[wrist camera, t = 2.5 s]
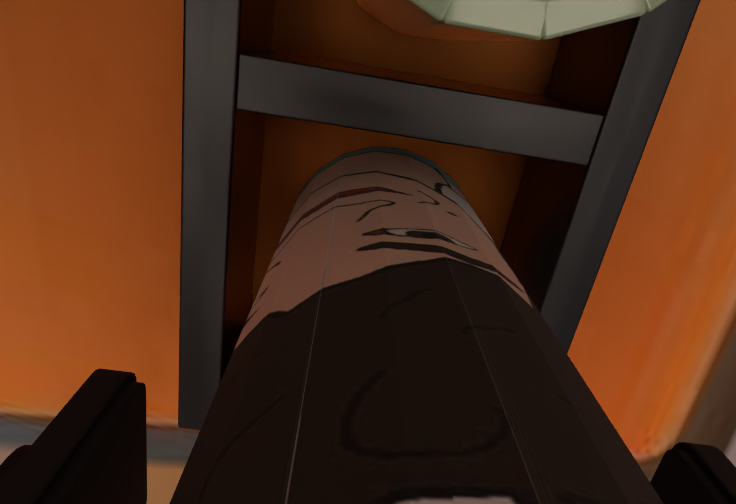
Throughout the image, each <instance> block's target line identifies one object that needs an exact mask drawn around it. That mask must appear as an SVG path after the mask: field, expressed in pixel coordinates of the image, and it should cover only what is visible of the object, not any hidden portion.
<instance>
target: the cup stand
mask: <svg viewBox="0 0 736 504" xmlns="http://www.w3.org/2000/svg"><path fill="white" fill-rule="evenodd" d="M274 3H275V0H184V30H183V105H182V179H181V254H180V329H179V404H178V427H179V428H185V429H194V430H201V428H202V425H203V423H204V420H205V418H206V416H207V413H208V411H209V408H210V406H211V404H212V401H213V399H214V396H215V394H216V392H217V389H218V387H219V384H220V382H221V380H222V377H223V375H224V373H225V370H226V368H227V365H228V363H229V361H230V358H231V356H232V353H233V351H234V349H235V346H236V344H237V341H238V339H239V337H240V334H241V332H242V330H243V327H244V325H245V322H246V320H247V318H248V315H249V313H250V310H251V300H252V288H253V275H254V262H255V249H256V236H257V223H258V210H259V197H260V184H261V171H262V158H263V145H264V132H265V119H266V114H267V115H274V116H280V117H286V118H292V119H298V120H305V121H311V122H317V123H323V124H329V125H336V126H342V127H348V128H354V129H360V130H367V131H373V132H379V133H385V134H392V135H398V136H404V137H410V138H416V139H423V140H429V141H435V142H441V143H447V144H454V145H460V146H466V147H472V148H478V149H485V150H491V151H497V152H503V153H509V154H516V155H522V156H528V159H527V162H526V165H525V169H524V172H523V176H522V179H521V183H520V186H519V190H518V193H517V197H516V200H515V204H514V207H513V211H512V214H511V218H510V221H509V225H508V228H507V232H506V235H505V239H504V242H503V246H502V249H501V253H502V255H503V256H504V258H505V259H506V261H507V263H508V264H509V266H510V267H511V269H512V270H513V272H514V273H515V275H516V276H517V278H518V280H519V281H520V283H521V284H522V286H523V287H524V289H525V290H526V292H527V293H528V295H529V297H530V298H531V300H532V301H533V303H534V304H535V306H536V307H537V309H538V310H539V312H540V314H541V315H542V317H543V318H544V320H545V321H546V323H547V324H548V326H549V327H550V329H551V330H552V332H553V334H554V335H555V337H556V338H557V340H558V341H559V343H560V344H561V346H562V347H563V349H564V351H565V352H566V354H567V353H568V350H569V348H570V345H571V342H572V340H573V337H574V334H575V332H576V329H577V326H578V324H579V321H580V318H581V316H582V313H583V310H584V308H585V305H586V303H587V300H588V297H589V295H590V292H591V289H592V287H593V284H594V281H595V279H596V276H597V273H598V271H599V268H600V265H601V263H602V260H603V257H604V255H605V252H606V249H607V247H608V244H609V242H610V239H611V236H612V234H613V231H614V228H615V226H616V223H617V220H618V218H619V215H620V212H621V210H622V207H623V204H624V202H625V199H626V196H627V194H628V191H629V189H630V186H631V183H632V181H633V178H634V175H635V173H636V170H637V167H638V165H639V162H640V159H641V157H642V154H643V151H644V149H645V146H646V143H647V141H648V138H649V135H650V133H651V130H652V128H653V125H654V122H655V120H656V117H657V114H658V112H659V109H660V106H661V104H662V101H663V98H664V96H665V93H666V90H667V88H668V85H669V82H670V80H671V77H672V75H673V72H674V69H675V67H676V64H677V61H678V59H679V56H680V53H681V51H682V48H683V45H684V43H685V40H686V37H687V35H688V32H689V29H690V27H691V24H692V21H693V19H694V16H695V14H696V11H697V8H698V6H699V3H700V0H667V1H665V2H664V3H662V4H661V5H660V6H658V7H657V8H655V9H654V10H652V11H651V12H648V13H645V14H643V15H642V16H640V17H636V18H632V19H628V20H624V21H620V22H616V23H612V24H608V25H604V26H600V27H596V28H592V29H588V30H584V31H580V32H576V33H572V34H568V35H564V36H563V37H562V40H561V44H560V47H559V51H558V54H557V58H556V61H555V65H554V68H553V72H552V75H551V78H550V82H549V85H548V89H547V92H546V96H541V95H535V94H529V93H523V92H517V91H512V90H506V89H500V88H494V87H488V86H482V85H476V84H470V83H465V82H459V81H453V80H447V79H441V78H435V77H429V76H423V75H418V74H412V73H406V72H400V71H394V70H388V69H382V68H376V67H371V66H365V65H359V64H353V63H347V62H341V61H335V60H329V59H324V58H318V57H312V56H306V55H300V54H294V53H288V52H282V51H277V50H271V42H272V29H273V16H274Z"/></svg>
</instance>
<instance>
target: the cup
mask: <svg viewBox="0 0 736 504" xmlns="http://www.w3.org/2000/svg"><path fill="white" fill-rule="evenodd" d="M170 504H664V503H663V502H662V500H661V499H660V497H659V496H658V494H657V493H656V491H655V490H654V488H653V486H652V485H651V483H650V482H649V480H648V479H647V477H646V476H645V474H644V473H643V471H642V469H641V468H640V466H639V465H638V463H637V462H636V460H635V459H634V457H633V456H632V454H631V452H630V451H629V449H628V448H627V446H626V445H625V443H624V442H623V440H622V439H621V437H620V435H619V434H618V432H617V431H616V429H615V428H614V426H613V425H612V423H611V422H610V420H609V419H608V417H607V415H606V414H605V412H604V411H603V409H602V408H601V406H600V405H599V403H598V402H597V400H596V398H595V397H594V395H593V394H592V392H591V391H590V389H589V388H588V386H587V385H586V383H585V381H584V380H583V378H582V377H581V375H580V374H579V372H578V371H577V369H576V368H575V366H574V364H573V363H572V361H571V360H570V358H569V357H568V355H567V354H566V352H565V351H564V349H563V347H562V346H561V344H560V343H559V341H558V340H557V338H556V337H555V335H554V334H553V332H552V330H551V329H550V327H549V326H548V324H547V323H546V321H545V320H544V318H543V317H542V315H541V314H540V312H539V310H538V309H537V307H536V306H535V304H534V303H533V301H532V300H531V298H530V297H529V295H528V293H527V292H526V290H525V289H524V287H523V286H522V284H521V283H520V281H519V280H518V278H517V276H516V275H515V273H514V272H513V270H512V269H511V267H510V266H509V264H508V263H507V261H506V259H505V258H504V256H503V255H502V253H501V252H500V250H499V249H498V247H497V246H496V244H495V242H494V241H493V239H492V238H491V236H490V235H489V233H488V232H487V230H486V229H485V227H484V225H483V224H482V222H481V221H480V219H479V218H478V216H477V215H476V213H475V212H474V210H473V209H472V207H471V205H470V204H469V202H468V201H467V199H466V198H465V196H464V195H463V193H462V192H461V190H460V188H459V187H458V185H457V184H456V182H455V181H454V180H453V179H452V178H451V177H450V176H449V175H448V174H447V173H445V172H444V171H443V170H442V169H441V168H440V167H439V166H438V165H436V164H435V163H434V162H433V161H431V160H429V159H427V158H424V157H422V156H420V155H417V154H415V153H412V152H410V151H408V150H405V149H395V148H383V147H371V148H367V149H363V150H358V151H354V152H350V153H346V154H343V155H342V156H340V157H338V158H337V159H335V160H333V161H332V162H330V163H329V164H327V165H325V166H324V167H322V168H320V169H319V170H318V171H317V172H316V173H315V175H314V176H313V177H312V178H311V179H310V181H309V182H308V183H307V184H306V185H305V187H304V188H303V189H302V190H301V191H300V193H299V196H298V198H297V201H296V203H295V205H294V208H293V210H292V212H291V215H290V217H289V220H288V222H287V224H286V227H285V229H284V232H283V234H282V236H281V239H280V241H279V244H278V246H277V248H276V251H275V253H274V255H273V258H272V260H271V263H270V265H269V267H268V270H267V272H266V275H265V277H264V279H263V282H262V284H261V287H260V289H259V291H258V294H257V296H256V298H255V301H254V303H253V306H252V308H251V310H250V313H249V315H248V318H247V320H246V322H245V325H244V327H243V330H242V332H241V334H240V337H239V339H238V341H237V344H236V346H235V349H234V351H233V353H232V356H231V358H230V361H229V363H228V365H227V368H226V370H225V373H224V375H223V377H222V380H221V382H220V384H219V387H218V389H217V392H216V394H215V396H214V399H213V401H212V404H211V406H210V408H209V411H208V413H207V416H206V418H205V420H204V423H203V425H202V428H201V430H200V432H199V435H198V437H197V439H196V442H195V444H194V447H193V449H192V451H191V454H190V456H189V459H188V461H187V463H186V466H185V468H184V471H183V473H182V475H181V478H180V480H179V483H178V485H177V487H176V490H175V492H174V494H173V497H172V499H171V502H170Z"/></svg>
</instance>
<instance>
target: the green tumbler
mask: <svg viewBox="0 0 736 504" xmlns="http://www.w3.org/2000/svg"><path fill="white" fill-rule="evenodd" d="M355 1H356V3H357V4H358V5H360V7H361V8H362V9H363V10H365V11H366V12H368V13H369V14H370V15H372V16H373V17H374V18H376V19H377V20H378V21H380V22H382V23H383V24H385V25H387V26H388V27H390V28H391V29H393V30H394V31H396V32H399V33H402V34H408V35H413V36H417V37H425V38H431V39H436V40H548V39H552V38H556V37H560V36H564V35H568V34H572V33H576V32H580V31H584V30H588V29H592V28H596V27H600V26H604V25H608V24H612V23H616V22H620V21H624V20H628V19H632V18H636V17H640V16H642V15H643V14H645V13H648V12H651V11H652V10H654V9H655V8H657V7H658V6H660V5H661V4H662V3H664V2H665V1H667V0H355Z"/></svg>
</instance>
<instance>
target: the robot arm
mask: <svg viewBox="0 0 736 504" xmlns="http://www.w3.org/2000/svg"><path fill="white" fill-rule="evenodd" d="M650 483H651V485H652V486H653V488H654V490H655V491H656V493H657V494H658V496H659V497H660V499H661V500H662V502H663V503H664V504H736V467H735V466H734V465H733V464H732V463H731V462H730V460H729V459H728V458H727V457H726V456H725V455H724V454H723V453H722V452H721V451H720V450H719V449H718V448H716V447H713V446H709V445H701V444H693V443H685V442H680V443H677V444H676V445H674V447H673V448H672V449H670V450H668V451H666V453H665V454H664V456H663V458H662V460H661V462H660V464H659V466H658V468H657V470H656V472H655V474H654V476H653V478H652V480H651V482H650ZM146 502H147V448H146V386H145V384H144V383H140V382H137V381H136V376H135V374H134V373H131V372H123V371H115V370H108V369H97V370H95V371H94V372H93V373H92V374H91V375H90V377H89V378H88V379H87V380H86V381H85V383H84V384H83V385H82V386H81V387H80V388H79V390H78V391H77V392H76V393H75V394H74V396H73V397H72V398H71V399H70V400H69V402H68V403H67V404H66V405H65V406H64V407H63V409H62V410H61V411H60V412H59V413H58V415H57V416H56V417H55V418H54V419H53V421H52V422H51V423H50V424H49V425H48V426H47V428H46V429H45V430H44V431H43V432H42V434H41V435H40V436H39V437H38V438H37V439H36V441H35V442H34V443H33V444H32V445H23V446H21V447H19V448H17V449H16V450H15V451H14V452H12V453H11V454H10V455H9V456H8V457H7V458H6V459H5V461H4V462H3V463H2V464H1V465H0V504H146Z"/></svg>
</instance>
